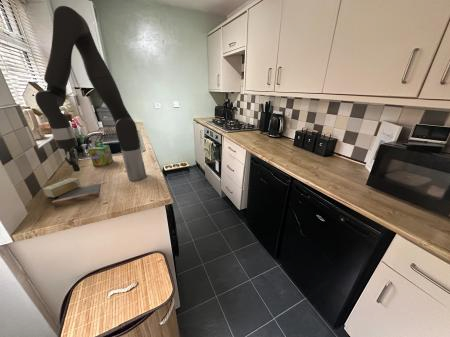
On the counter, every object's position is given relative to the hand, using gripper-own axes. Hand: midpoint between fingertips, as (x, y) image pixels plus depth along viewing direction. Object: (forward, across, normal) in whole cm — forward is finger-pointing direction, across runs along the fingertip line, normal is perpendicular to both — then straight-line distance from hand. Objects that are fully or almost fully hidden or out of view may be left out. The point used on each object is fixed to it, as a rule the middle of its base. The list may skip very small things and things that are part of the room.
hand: (77, 170), depth 91 cm
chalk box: (+9, +30, -8) cm, 33 cm away
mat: (+8, -9, 0) cm, 12 cm away
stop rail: (+8, -16, 0) cm, 18 cm away
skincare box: (+6, +1, +2) cm, 7 cm away
